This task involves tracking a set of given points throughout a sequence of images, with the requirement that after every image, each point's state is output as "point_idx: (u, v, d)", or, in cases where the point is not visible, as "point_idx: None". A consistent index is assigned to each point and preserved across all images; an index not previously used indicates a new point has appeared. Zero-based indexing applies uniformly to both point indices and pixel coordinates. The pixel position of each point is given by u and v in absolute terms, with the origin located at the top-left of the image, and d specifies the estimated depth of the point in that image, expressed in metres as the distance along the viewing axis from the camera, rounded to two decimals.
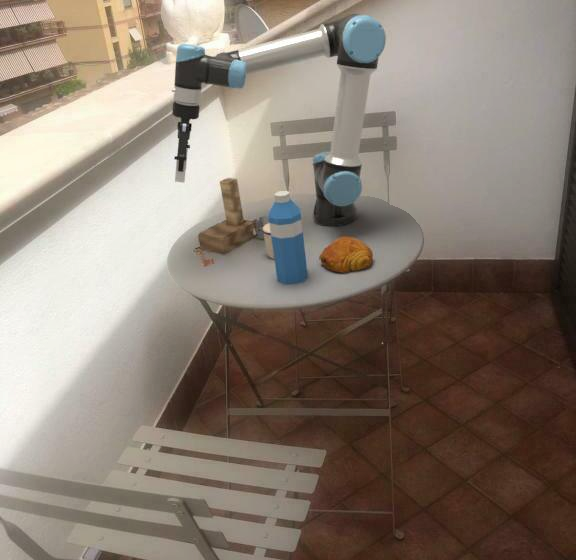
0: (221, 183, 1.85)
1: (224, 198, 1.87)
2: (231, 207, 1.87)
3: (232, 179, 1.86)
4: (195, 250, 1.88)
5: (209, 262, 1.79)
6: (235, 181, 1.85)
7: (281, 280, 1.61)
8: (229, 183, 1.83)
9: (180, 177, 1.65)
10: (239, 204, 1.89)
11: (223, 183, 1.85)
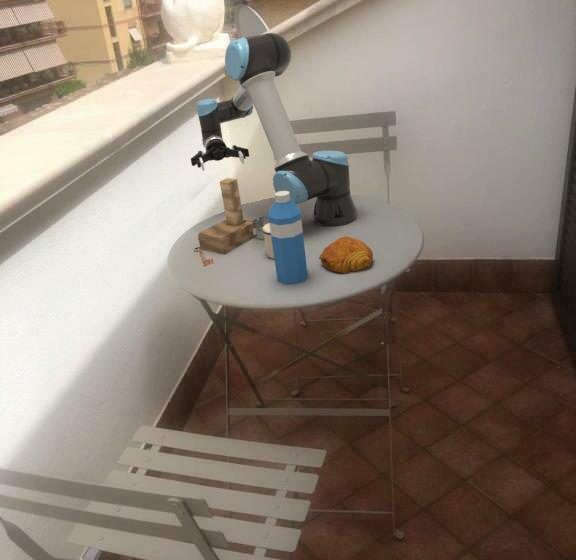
0: (221, 183, 1.85)
1: (224, 198, 1.87)
2: (231, 207, 1.87)
3: (232, 179, 1.86)
4: (195, 250, 1.88)
5: (209, 262, 1.79)
6: (235, 181, 1.85)
7: (281, 280, 1.61)
8: (229, 183, 1.83)
9: (201, 165, 1.93)
10: (239, 204, 1.89)
11: (223, 183, 1.85)
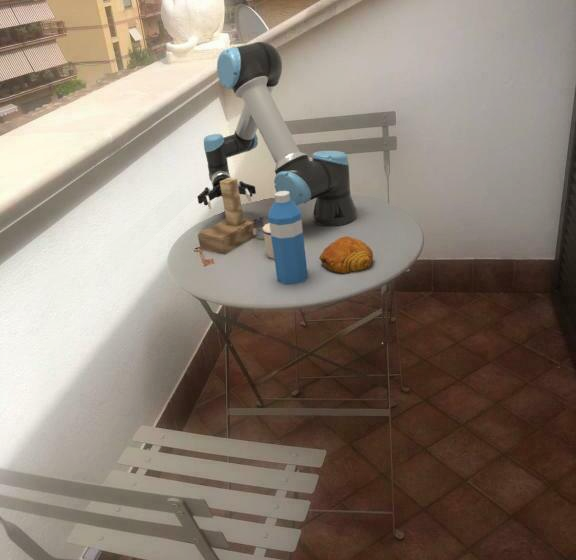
0: (221, 183, 1.85)
1: (224, 198, 1.87)
2: (231, 207, 1.87)
3: (232, 179, 1.86)
4: (195, 250, 1.88)
5: (209, 262, 1.79)
6: (235, 181, 1.85)
7: (281, 280, 1.61)
8: (229, 183, 1.83)
9: (208, 204, 1.93)
10: (239, 204, 1.89)
11: (223, 183, 1.85)
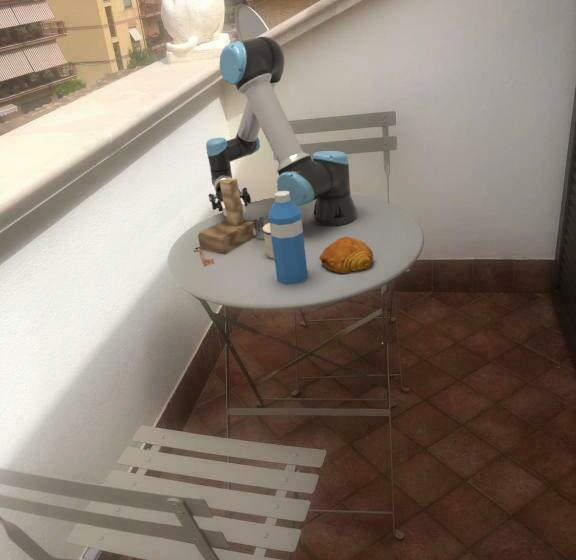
0: (221, 183, 1.85)
1: (224, 198, 1.87)
2: (231, 207, 1.87)
3: (232, 179, 1.86)
4: (195, 250, 1.88)
5: (209, 262, 1.79)
6: (235, 181, 1.85)
7: (281, 280, 1.61)
8: (229, 183, 1.83)
9: (223, 210, 1.85)
10: (239, 204, 1.89)
11: (223, 183, 1.85)
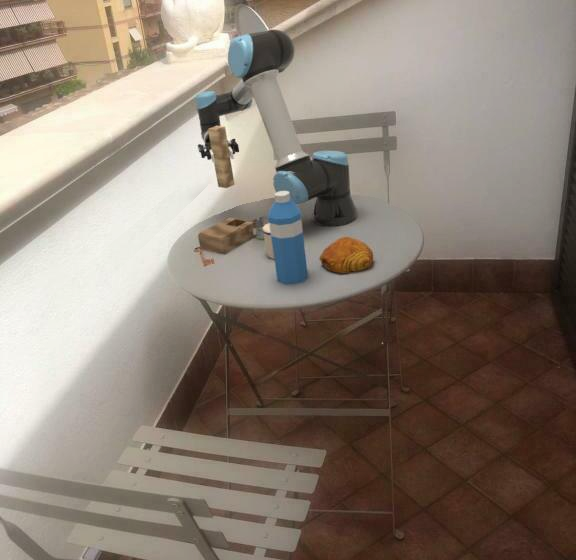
0: (209, 130, 1.89)
1: (212, 146, 1.91)
2: (219, 155, 1.91)
3: (220, 127, 1.89)
4: (195, 250, 1.88)
5: (209, 262, 1.79)
6: (223, 129, 1.89)
7: (281, 280, 1.61)
8: (217, 130, 1.87)
9: (211, 157, 1.89)
10: (227, 152, 1.93)
11: (211, 130, 1.88)
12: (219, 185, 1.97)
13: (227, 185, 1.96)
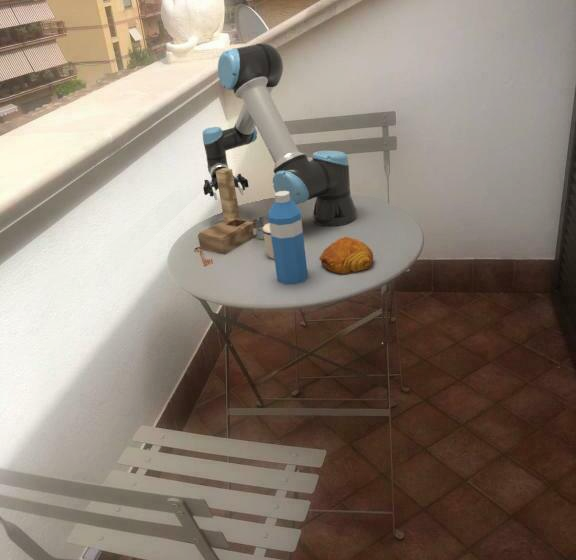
0: (217, 173, 1.96)
1: (220, 187, 1.98)
2: (226, 196, 1.98)
3: (227, 169, 1.96)
4: (195, 250, 1.88)
5: (209, 262, 1.79)
6: (230, 171, 1.96)
7: (281, 280, 1.61)
8: (224, 173, 1.94)
9: (214, 195, 1.96)
10: (234, 193, 2.00)
11: (219, 173, 1.95)
12: None
13: None
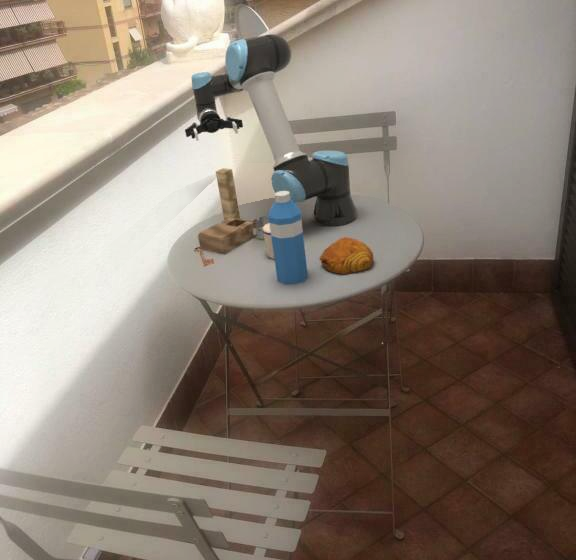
0: (217, 173, 1.96)
1: (220, 187, 1.98)
2: (226, 196, 1.98)
3: (227, 169, 1.96)
4: (195, 250, 1.88)
5: (209, 262, 1.79)
6: (230, 171, 1.96)
7: (281, 280, 1.61)
8: (224, 173, 1.94)
9: (195, 135, 1.95)
10: (234, 193, 2.00)
11: (219, 173, 1.95)
12: None
13: None
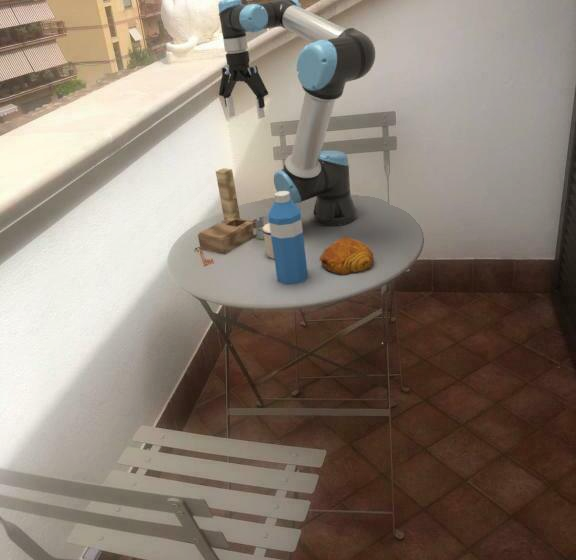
0: (217, 173, 1.96)
1: (220, 187, 1.98)
2: (226, 196, 1.98)
3: (227, 169, 1.96)
4: (195, 250, 1.88)
5: (209, 262, 1.79)
6: (230, 171, 1.96)
7: (281, 280, 1.61)
8: (224, 173, 1.94)
9: None
10: (234, 193, 2.00)
11: (219, 173, 1.95)
12: None
13: None
